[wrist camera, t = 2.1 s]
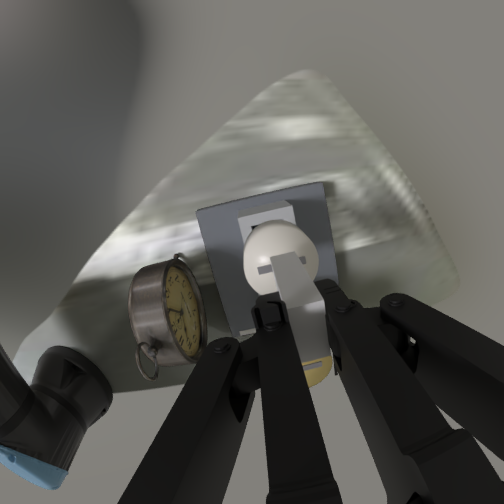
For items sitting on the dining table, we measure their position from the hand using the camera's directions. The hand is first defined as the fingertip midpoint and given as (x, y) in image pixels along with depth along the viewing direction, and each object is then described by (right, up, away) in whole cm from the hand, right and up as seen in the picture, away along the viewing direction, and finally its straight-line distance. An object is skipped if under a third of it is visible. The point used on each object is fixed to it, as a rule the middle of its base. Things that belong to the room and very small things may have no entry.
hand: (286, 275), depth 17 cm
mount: (0, 0, +17) cm, 17 cm away
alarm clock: (-11, -3, +18) cm, 21 cm away
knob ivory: (0, +3, +9) cm, 10 cm away
